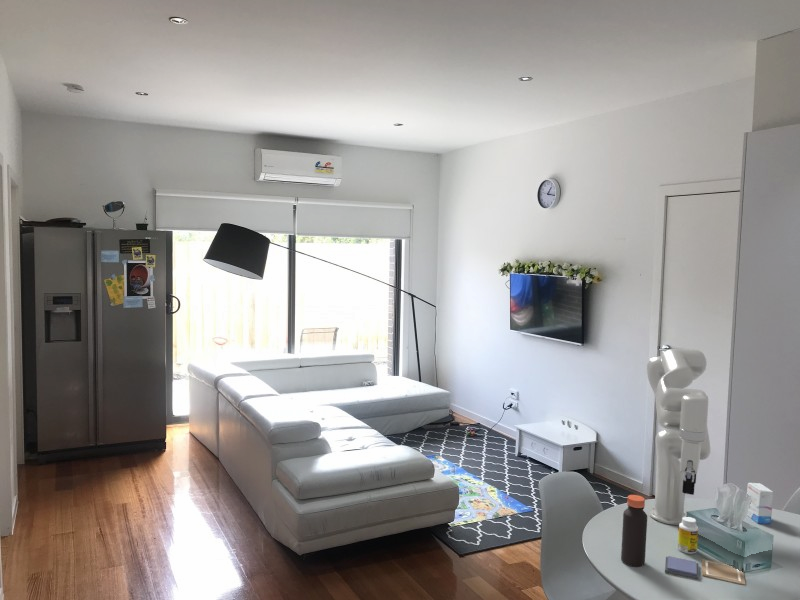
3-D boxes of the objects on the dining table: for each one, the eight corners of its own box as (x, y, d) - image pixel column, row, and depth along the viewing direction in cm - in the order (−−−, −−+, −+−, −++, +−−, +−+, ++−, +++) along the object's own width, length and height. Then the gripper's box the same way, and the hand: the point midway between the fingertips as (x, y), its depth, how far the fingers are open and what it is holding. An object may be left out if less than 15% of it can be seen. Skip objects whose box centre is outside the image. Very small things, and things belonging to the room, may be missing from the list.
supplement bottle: (690, 556, 193) (692, 524, 192) (673, 548, 198) (675, 517, 197) (700, 551, 196) (702, 520, 195) (684, 544, 201) (686, 514, 200)
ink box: (772, 524, 218) (774, 491, 217) (757, 523, 218) (759, 491, 217) (758, 513, 226) (760, 482, 225) (744, 513, 226) (746, 481, 225)
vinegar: (630, 554, 194) (633, 491, 192) (649, 563, 188) (653, 499, 186) (616, 559, 190) (619, 496, 188) (635, 569, 184) (638, 504, 183)
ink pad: (665, 559, 191) (666, 554, 191) (698, 566, 187) (698, 561, 187) (664, 572, 183) (665, 567, 183) (698, 580, 179) (699, 575, 179)
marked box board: (701, 559, 191) (701, 558, 191) (742, 567, 187) (742, 566, 187) (702, 576, 181) (702, 574, 181) (745, 585, 177) (745, 583, 177)
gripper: (681, 425, 202) (678, 476, 204) (677, 440, 187) (673, 495, 188) (707, 429, 198) (703, 481, 200) (704, 444, 183) (701, 500, 185)
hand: (689, 488), depth 194 cm, fingers open, 9 cm apart
